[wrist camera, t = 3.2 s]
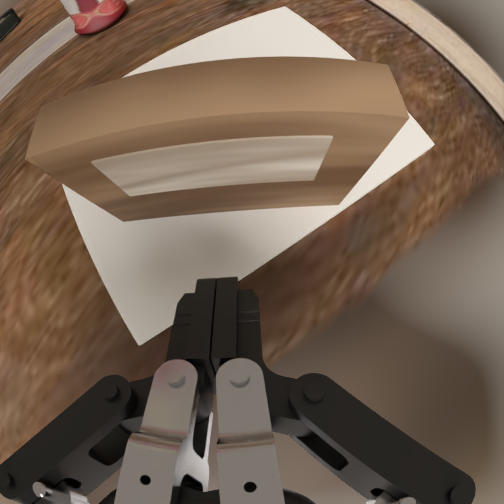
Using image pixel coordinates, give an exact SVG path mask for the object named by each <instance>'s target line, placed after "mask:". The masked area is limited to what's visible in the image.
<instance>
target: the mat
mask: <svg viewBox="0 0 504 504" xmlns="http://www.w3.org/2000/svg"><path fill="white" fill-rule="evenodd" d="M278 56H293V57H322V58H337V59H348V60H355V59H354V58H353V57H352V56H350V55H349V54H348V53H347V52H346V51H345V50H343V49H342V48H341V47H340V46H339V45H337V44H336V43H335V42H334V41H332V40H331V39H330V38H329V37H327V36H326V35H325V34H323V33H322V32H321V31H319V30H318V29H317V28H315V27H314V26H313V25H311V24H310V23H308V22H307V21H306V20H304V19H303V18H301V17H300V16H298V15H297V14H295V13H294V12H292V11H291V10H289V9H288V8H286V7H281V8H278V9H274V10H271V11H267V12H264V13H261V14H257V15H254V16H251V17H248V18H245V19H242V20H240V21H237V22H234V23H231V24H229V25H226V26H223V27H221V28H218V29H216V30H213V31H211V32H209V33H206V34H204V35H202V36H199V37H197V38H195V39H193V40H190V41H188V42H186V43H184V44H182V45H180V46H178V47H176V48H174V49H172V50H170V51H168V52H166V53H164V54H162V55H160V56H158V57H156V58H155V59H153V60H151V61H149V62H147V63H146V64H144V65H142V66H140V67H139V68H137V69H135V70H134V71H132V72H130V73H129V74H127V75H126V76H124V77H127V76H131V75H135V74H139V73H143V72H147V71H152V70H157V69H162V68H167V67H172V66H178V65H184V64H191V63H198V62H205V61H214V60H223V59H234V58H249V57H278ZM122 78H123V77H122ZM408 115H409V119H408V121H407V122H406V123H405V124H404V126H403V127H402V128H401V129H400V131H399V132H398V133H397V135H396V136H395V137H394V138H393V140H392V141H391V142H390V143H389V145H388V146H387V147H386V148H385V150H384V151H383V152H382V153H381V155H380V156H379V157H378V158H377V159H376V161H375V162H374V163H373V164H372V166H371V167H370V168H369V169H368V171H367V172H366V173H365V174H364V175H363V177H362V178H361V179H360V180H359V181H358V183H357V184H356V185H355V186H354V187H353V189H352V190H351V191H350V192H349V193H348V195H347V196H346V197H345V198H344V199H343V201H342V202H341V203H340V204H339V205H330V206H308V207H289V208H272V209H257V210H243V211H229V212H217V213H205V214H194V215H183V216H173V217H163V218H154V219H144V220H135V221H127V222H123V221H121V220H119V219H118V218H116V217H115V216H113V215H111V214H110V213H108V212H106V211H105V210H103V209H102V208H100V207H98V206H97V205H95V204H94V203H92V202H90V201H89V200H87V199H86V198H84V197H82V196H81V195H79V194H78V193H76V192H74V191H73V190H71V189H70V188H68V187H67V186H65V185H64V184H62V185H63V188H64V191H65V194H66V197H67V199H68V202H69V205H70V208H71V210H72V213H73V215H74V218H75V220H76V223H77V225H78V228H79V230H80V233H81V235H82V237H83V240H84V242H85V244H86V247H87V249H88V251H89V253H90V255H91V258H92V260H93V262H94V264H95V266H96V268H97V270H98V273H99V275H100V277H101V279H102V281H103V283H104V285H105V287H106V289H107V291H108V292H109V294H110V296H111V298H112V300H113V302H114V304H115V306H116V308H117V309H118V311H119V313H120V315H121V317H122V318H123V320H124V322H125V324H126V325H127V327H128V329H129V331H130V332H131V334H132V336H133V337H134V339H135V341H136V342H137V344H138V345H142V344H144V343H145V342H147V341H148V340H150V339H151V338H153V337H154V336H156V335H158V334H159V333H161V332H162V331H164V330H165V329H167V328H168V327H170V326H171V325H173V321H174V317H175V312H176V307H177V303H178V302H179V300H180V299H181V298H182V296H183V295H184V293H195V288H196V282H197V279H205V278H217V279H218V278H220V277H236V276H237V277H238V281H240V280H241V279H243V278H244V277H246V276H247V275H249V274H250V273H252V272H253V271H255V270H256V269H258V268H259V267H261V266H262V265H264V264H265V263H267V262H268V261H270V260H271V259H273V258H274V257H276V256H277V255H278V254H280V253H281V252H283V251H284V250H286V249H287V248H289V247H290V246H292V245H293V244H295V243H296V242H298V241H299V240H301V239H302V238H303V237H305V236H306V235H308V234H309V233H311V232H312V231H314V230H315V229H317V228H318V227H320V226H321V225H322V224H324V223H325V222H327V221H328V220H330V219H331V218H333V217H334V216H335V215H337V214H338V213H340V212H341V211H343V210H344V209H346V208H347V207H348V206H350V205H351V204H353V203H354V202H356V201H357V200H358V199H360V198H361V197H363V196H364V195H366V194H367V193H368V192H370V191H371V190H373V189H374V188H376V187H377V186H378V185H380V184H381V183H383V182H384V181H386V180H387V179H388V178H390V177H391V176H393V175H394V174H395V173H397V172H398V171H400V170H401V169H402V168H404V167H405V166H407V165H408V164H409V163H411V162H412V161H414V160H415V159H416V158H418V157H419V156H421V155H422V154H423V153H425V152H426V151H428V150H429V149H430V148H432V147H433V146H434V145H435V144H434V143H433V142H432V140H431V139H430V138H429V137H428V135H427V134H426V133H425V132H424V130H423V129H422V128H421V127H420V126H419V124H418V123H417V122H416V121H415V120H414V118H413V117H412V116H411V115H410V114H409V113H408Z"/></svg>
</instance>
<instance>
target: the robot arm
mask: <svg viewBox="0 0 504 504" xmlns="http://www.w3.org/2000/svg"><path fill="white" fill-rule="evenodd" d="M213 394H217V413H218V429H219V439H218V441H217V449H216V450H217V467H218V481H219V489H218V490H213V491H208V482H209V466H208V450H209V443H210V434H211V427H212V419H213V408H212V404H213ZM272 431H273V432H277V433H282V434H287V435H289V436H290V437H291V438H292V439H293V440H294V441H296V442H297V443H298V444H299V445H300V446H301V447H302V448H304V449H305V450H306V451H307V452H308V453H309V454H310V455H312V456H313V457H314V458H315V459H317V460H318V461H319V462H320V463H321V464H322V465H324V466H325V467H326V468H328V469H329V470H330V471H331V472H332V473H334V474H335V475H336V476H337V477H339V478H340V479H341V480H342V481H344V482H345V483H346V484H348V485H349V486H350V487H352V488H353V489H355V490H356V491H357V492H358V493H360V494H361V495H363V496H364V497H365V498H367V499H368V501H367V502H366V504H471V503H472V501H473V499H474V496H475V483H474V481H473V479H472V478H471V477H470V476H469V475H467V474H466V473H464V472H463V471H461V470H459V469H458V468H456V467H455V466H453V465H451V464H450V463H448V462H447V461H445V460H444V459H442V458H440V457H439V456H438V455H436V454H434V453H433V452H432V451H430V450H428V449H427V448H426V447H424V446H422V445H421V444H420V443H418V442H417V441H415V440H413V439H412V438H411V437H409V436H408V435H406V434H405V433H403V432H402V431H401V430H399V429H398V428H396V427H395V426H394V425H392V424H391V423H389V422H388V421H386V420H385V419H384V418H382V417H381V416H380V415H378V414H377V413H376V412H374V411H373V410H371V409H370V408H369V407H367V406H366V405H364V404H363V403H362V402H361V401H359V400H358V399H356V398H355V397H354V396H352V395H351V394H350V393H348V392H347V391H346V390H345V389H343V388H342V387H341V386H339V385H338V384H336V383H335V382H334V381H333V380H331V379H330V378H329V377H327V376H325V375H322V374H317V373H310V374H306V375H303V376H301V377H299V378H298V379H294V378H289V377H284V376H280V375H277V374H275V373H273V372H272V371H270V370H269V369H268V368H267V367H266V365H265V364H264V361H263V358H262V345H261V329H260V315H259V300H258V298H257V296H256V295H255V293H254V292H253V290H252V289H250V290H239V283H238V277H237V276H236V277H220V278H218V279H217V278H205V279H197V282H196V288H195V293H184V295H183V296H182V298H181V299H180V300H179V302H178V303H177V307H176V312H175V317H174V321H173V326H172V331H171V336H170V342H169V347H168V352H167V358H166V361H165V363H164V364H162V365H161V366H160V367H159V368H158V369H157V371H156V372H155V375H153V376H151V377H149V378H145V379H141V380H137V381H133V382H128V381H127V380H126V379H125V378H123V377H122V376H119V375H110V376H106V377H104V378H103V379H101V380H100V381H99V382H97V383H96V384H95V385H94V386H93V387H92V388H90V389H89V390H88V391H87V392H86V393H84V394H83V395H82V396H81V397H80V398H79V399H77V400H76V401H75V402H74V403H73V404H72V405H70V406H69V407H68V408H67V409H66V410H64V411H63V412H62V413H61V414H60V415H59V416H57V417H56V418H55V419H54V420H53V421H51V422H50V423H49V424H48V425H47V426H46V427H44V428H43V429H42V430H41V431H40V432H39V433H37V434H36V435H35V436H34V437H33V438H31V439H30V440H29V441H28V442H27V443H26V444H24V445H23V446H22V447H21V448H20V449H18V450H17V451H16V452H15V453H14V454H13V455H11V456H10V457H9V458H8V459H7V460H5V461H4V462H3V463H2V464H1V465H0V493H1V494H2V495H3V496H4V497H6V498H8V499H10V500H13V501H16V502H18V503H20V504H90V503H89V501H88V500H87V498H86V496H87V495H88V494H90V493H91V492H92V491H93V490H94V489H96V488H97V487H98V486H99V485H100V484H102V483H103V482H104V481H105V480H106V479H108V478H109V477H110V476H111V475H112V474H113V473H114V472H116V471H117V470H118V469H119V468H120V467H121V466H122V468H121V472H120V477H119V481H118V486H117V489H115V490H114V491H112V492H111V493H110V494H109V495H108V496H107V497H105V498H104V499H103V500H102V501H101V502H100V503H99V504H315V503H314V502H313V501H311V500H310V499H309V498H307V497H305V496H303V495H301V494H299V493H296V492H294V491H291V490H287V489H283V488H282V483H281V477H280V472H279V465H278V459H277V453H276V447H275V441H274V437H273V434H272ZM207 491H208V492H207Z"/></svg>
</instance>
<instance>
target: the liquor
mask: <svg viewBox="0 0 504 504" xmlns="http://www.w3.org/2000/svg"><path fill="white" fill-rule="evenodd" d="M60 1H61V3H62V4H63V6H64V7H65V9H66V11H67V12H68V14H69V15H70V17H71V18H72V20H73V21H74V23H75V32H76V33H77V34H95V33H98V32H101V31H103V30H105V29H107V28H109V27H110V26H112V25H113V24H114V23H115V22H116V21H117V20H118V19H119V18H120V16H121V14H122V13H123V11H124V10H125V8H126V5H127V4H126V2H125V1H123V0H60Z"/></svg>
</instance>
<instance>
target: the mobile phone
mask: <svg viewBox="0 0 504 504" xmlns="http://www.w3.org/2000/svg"><path fill="white" fill-rule="evenodd" d="M19 22H20V19H19V17H18V16H17V14H16V13H15V11H14V10H13V9H12V8H11V9H9V10H8V11H6V12H5V13H4V14H3V15H2V16H1V17H0V42H1V41H2V40H3V39H4V38H5V37H6V36H7V35H8V34H9V33H10V32H11V31H12V30H13V29H14V28H15V27H16V26H17V25H18V24H19Z"/></svg>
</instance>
